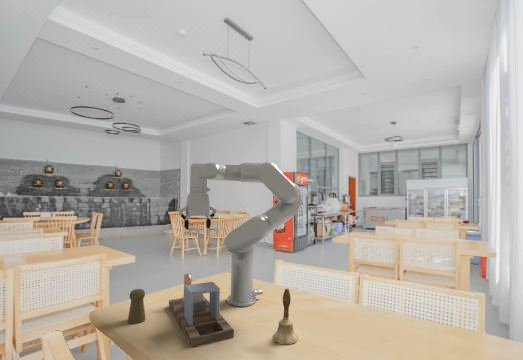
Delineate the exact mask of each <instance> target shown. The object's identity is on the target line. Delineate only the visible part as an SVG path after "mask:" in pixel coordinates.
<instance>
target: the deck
mask: <svg viewBox="0 0 523 360" xmlns="http://www.w3.org/2000/svg"><path fill="white" fill-rule="evenodd" d="M203 298H204V299H205V300H206V309H203V310H198V311H193V325H191V326H190V325H189V324H188V322H187V320H186V319H185V317H184V307H183V306H182V297H180V298H179V297H178V298H175V299H174V298H173V299H169V300H168V307H169V309H170V311H171V312H172V314H173V317H174V318H175V320H176V322H177V323H178V326H179V327H180V329H181V331H182V333H183V335H184V337H185V338H186V340H187V343H188V344H189V346H190V348H196V347H200V346H204V345H208V344H212V343H215V342H220V341H224V340H227V339H233V338H235V336H234V335H235V328H233V327H232V326H231V325H230V324H229V322H228V321H227V320H226V319H225V318H224V317H223V316H222V315H221V313H219V320H216V319H215V318H214V317H213V315H212V314H211V313H210V312H209V300H208V299H207V298H206V297H205V295H203Z"/></svg>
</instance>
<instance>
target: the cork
mask: <svg viewBox="0 0 523 360" xmlns="http://www.w3.org/2000/svg"><path fill="white" fill-rule="evenodd" d="M145 297H146V292H145V290H144V289H143V288H136V289H132V290H131V291H130V293H129V299H130V306H129V310H128V311H129V312H128V318H127V323H128V324H130V325H138V324H142V323H143V322H146V311H145V304H144V298H145Z"/></svg>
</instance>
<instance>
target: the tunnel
mask: <svg viewBox="0 0 523 360" xmlns="http://www.w3.org/2000/svg"><path fill="white" fill-rule="evenodd" d="M220 290H221V288H220V286H219V285H217V284H216V283H215V282H214V281H206V282H200V283H193V284H192V283H191V285H185V297H184V296H183V297H184V317H185V319H186V320H187V322H188V324H189V325H190V326H191V325H193V295H198V294H203V295H204V294H209V300H208V301H209V312H210V313H211V314H212V315H213V317H214V318H215V319H216V320H219V314H220V302H221V301H220V296H221V295H220V293H221V291H220Z"/></svg>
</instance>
